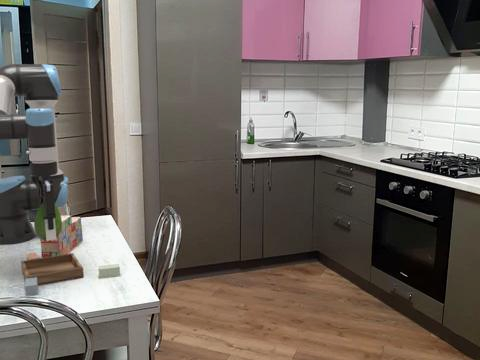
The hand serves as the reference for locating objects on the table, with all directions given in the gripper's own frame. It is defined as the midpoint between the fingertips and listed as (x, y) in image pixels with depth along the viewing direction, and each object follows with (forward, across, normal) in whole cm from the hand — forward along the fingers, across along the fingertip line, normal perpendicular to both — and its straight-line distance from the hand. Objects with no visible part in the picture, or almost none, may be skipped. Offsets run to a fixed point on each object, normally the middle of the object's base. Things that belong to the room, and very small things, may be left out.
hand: (49, 236), depth 149 cm
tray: (+12, 0, 0) cm, 12 cm away
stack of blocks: (+12, -22, +7) cm, 27 cm away
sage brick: (+12, +10, +15) cm, 22 cm away
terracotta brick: (+12, -12, -4) cm, 18 cm away
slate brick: (+12, +11, -7) cm, 18 cm away
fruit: (+1, 0, 0) cm, 1 cm away
